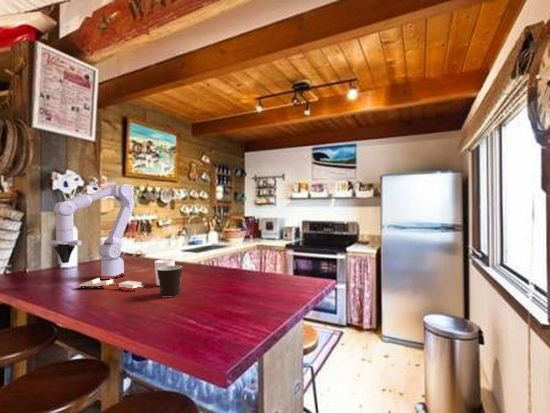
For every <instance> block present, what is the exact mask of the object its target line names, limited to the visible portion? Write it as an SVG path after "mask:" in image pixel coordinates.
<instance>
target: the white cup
mask: <svg viewBox="0 0 550 413" xmlns="http://www.w3.org/2000/svg"><path fill="white" fill-rule="evenodd" d="M175 262H176V260H175V259H172V258H171V259H167V258H166V259H158V260H155V261H154V270H155V283H156V286H157V285H159V279H158V272H157V268H160V267H164V266H176V264H175Z"/></svg>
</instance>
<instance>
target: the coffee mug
mask: <svg viewBox="0 0 550 413" xmlns="http://www.w3.org/2000/svg"><path fill="white" fill-rule="evenodd" d="M182 270H183V266H182V265H175V266H164V267H160V268H157V272H158V279H159V286H160V287H159V291H160V292H159V293H160V297H161V296H176V295H178V294H179V293H181V292H180V291H181V282H182V272H183V271H182ZM179 295H180V294H179ZM179 295H178V296H179ZM176 297H177V296H176Z"/></svg>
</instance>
